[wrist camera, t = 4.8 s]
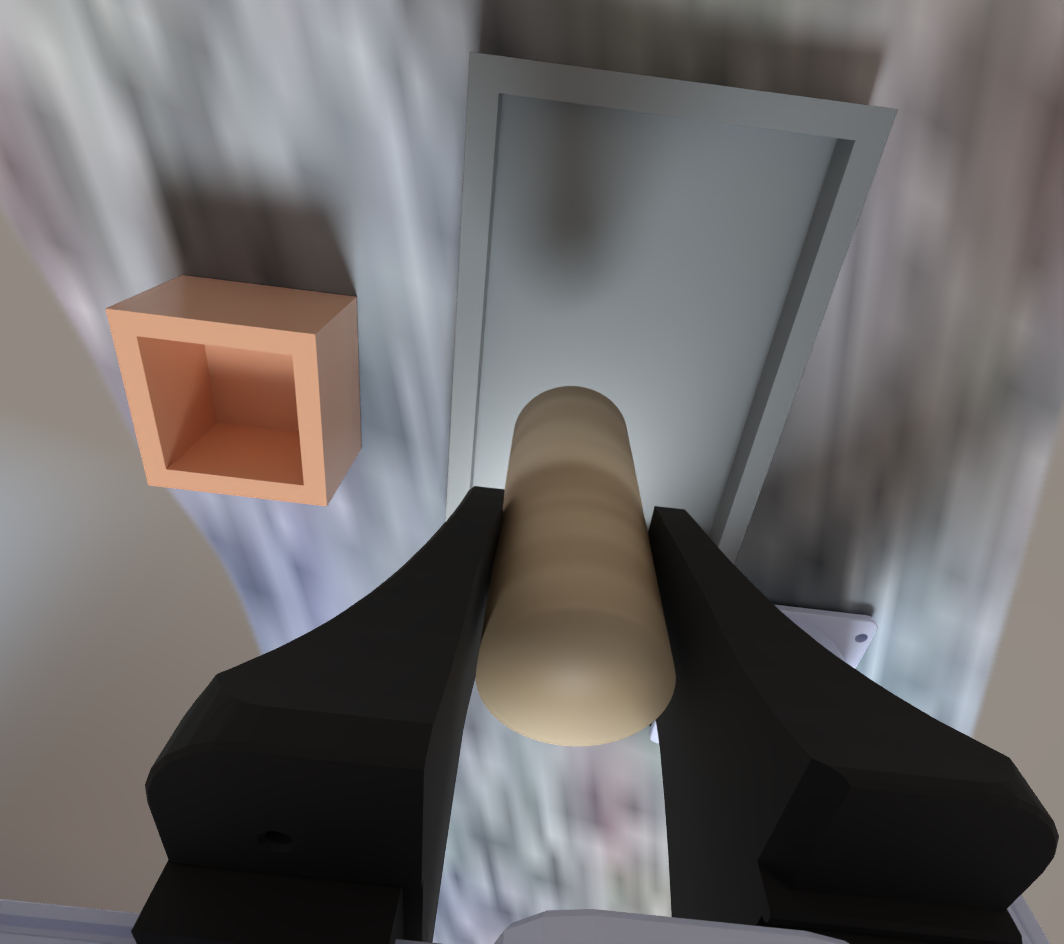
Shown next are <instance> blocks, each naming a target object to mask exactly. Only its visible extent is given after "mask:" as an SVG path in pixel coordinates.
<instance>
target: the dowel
mask: <svg viewBox="0 0 1064 944" xmlns="http://www.w3.org/2000/svg"><path fill="white" fill-rule="evenodd" d="M675 683H676V674H675V667H674V662H673V657H672V652H671V647H670V642H669V637H668V632H667V627H666V622H665V617H664V612H663V607H662V602H661V597H660V592H659V587H658V582H657V577H656V572H655V567H654V562H653V557H652V552H651V547H650V542H649V537H648V531H647V526H646V521H645V516H644V511H643V506H642V501H641V496H640V491H639V486H638V481H637V476H636V471H635V466H634V461H633V456H632V451H631V446H630V441H629V436H628V431H627V426H626V423H625V420H624V417H623V415H622V413H621V412H620V410H619V409H618V407H617V406H616V405H615V404H614V403H613V402H612V401H611V400H610V399H608V398H607V397H606V396H604V395H603V394H601V393H599V392H597V391H595V390H592V389H589V388H585V387H580V386H562V387H557V388H553V389H550V390H547V391H545V392H543V393H541V394H539V395H537V396H536V397H534V398H533V399H532V400H531V401H530V402H528V403H527V405H526V406H525V407H524V408H523V409H522V411H521V412H520V414H519V416H518V418H517V420H516V423H515V426H514V432H513V438H512V445H511V451H510V457H509V464H508V470H507V476H506V483H505V493H504V503H503V513H502V520H501V526H500V533H499V539H498V545H497V549H496V554H495V558H494V563H493V567H492V572H491V578H490V585H489V591H488V597H487V604H486V610H485V616H484V623H483V629H482V635H481V642H480V648H479V655H478V661H477V667H476V684H477V689H478V692H479V695H480V697H481V699H482V701H483V703H484V704H485V706H486V707H487V709H488V710H489V711H490V712H491V714H492V715H493V716H494V717H496V718H497V719H498V720H499V721H500V722H501V723H503V724H504V725H505V726H507V727H508V728H510V729H512V730H513V731H515V732H517V733H519V734H521V735H524V736H526V737H528V738H531V739H534V740H537V741H541V742H545V743H549V744H555V745H562V746H592V745H600V744H605V743H610V742H614V741H617V740H620V739H623V738H626V737H628V736H631V735H633V734H635V733H637V732H639V731H641V730H642V729H644V728H645V727H647V726H648V725H650V724H651V723H652V722H653V721H654V720H656V719H657V718H658V717H659V716H660V715H661V713H662V712H663V711H664V710H665V709H666V707H667V705H668V704H669V702H670V700H671V698H672V695H673V693H674V689H675Z"/></svg>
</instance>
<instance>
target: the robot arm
mask: <svg viewBox="0 0 1064 944" xmlns="http://www.w3.org/2000/svg"><path fill="white" fill-rule="evenodd" d="M504 493H505V489H497V488H488V487H479V486H474V487H473V488H471V489H470V490H468V492H467V494H466V495H465V497H464V498H463V500H462V501H461V503H460V504H459V505H458V507H457V508H456V509H455V511H454V512H453V513H452V514H451V516H450V517H449V518H448V519H447V521H446V522H445V523H444V524H443V525H442V526H441V527H440V529H439V530H438V531H437V532H436V533H435V534H434V535H433V537H432V538H431V539H430V540H429V541H428V542H427V543H426V544H425V545H424V546H423V547H422V548H421V549H420V550H419V551H418V552H417V553H416V554H415V555H414V556H413V557H412V558H411V559H410V560H409V561H408V562H407V563H406V564H405V565H403V566H402V567H401V568H400V569H399V570H398V571H397V572H395V573H394V574H393V575H392V576H391V577H390V578H388V579H387V580H386V581H385V582H383V583H382V584H381V585H380V586H378V587H377V588H376V589H375V590H373V591H372V592H371V593H369V594H368V595H367V596H365V597H364V598H362V599H361V600H359V601H358V602H357V603H355V604H354V605H352V606H351V607H349V608H348V609H347V610H345V611H344V612H342V613H341V614H339V615H337V616H336V617H334V618H333V619H331V620H330V621H328V622H326V623H324V624H323V625H321V626H319V627H317V628H315V629H314V630H312V631H310V632H308V633H306V634H304V635H303V636H301V637H299V638H297V639H295V640H293V641H291V642H289V643H287V644H285V645H283V646H281V647H279V648H277V649H275V650H272V651H270V652H268V653H266V654H263V655H261V656H259V657H256V658H254V659H252V660H249V661H247V662H245V663H243V664H240V665H238V666H236V667H233V668H231V669H229V670H226V671H223V672H221V673H219V674H217V675H216V676H215V677H214V678H213V680H212V681H211V682H210V684H209V685H208V686H207V687H206V689H205V690H204V691H203V692H202V694H201V695H200V696H199V697H198V698H197V699H196V701H195V702H194V703H193V705H192V706H191V707H190V709H189V710H188V712H187V713H186V714H185V716H184V717H183V719H182V720H181V722H180V723H179V725H178V726H177V728H176V730H175V731H174V733H173V735H172V736H171V738H170V739H169V741H168V742H167V744H166V746H165V747H164V749H163V750H162V752H161V753H160V755H159V757H158V758H157V760H156V762H155V763H154V765H153V766H152V768H151V770H150V773H149V775H148V778H147V781H146V784H145V788H146V795H147V801H148V805H149V807H150V810H151V813H152V816H153V818H154V821H155V824H156V826H157V829H158V832H159V835H160V837H161V840H162V843H163V846H164V848H165V851H166V854H167V857H168V859H169V860H168V862H167V864H166V866H165V868H164V870H163V871H162V873H161V875H160V877H159V879H158V881H157V883H156V885H155V887H154V889H153V891H152V892H151V894H150V896H149V898H148V900H147V902H146V904H145V906H144V907H143V910H142V911H141V913H133V912H122V911H114V910H103V909H94V908H84V907H74V906H64V905H55V904H45V903H35V902H24V901H14V900H5V899H0V944H440V943H432V942H433V934H434V927H435V920H436V913H437V906H438V899H439V892H440V885H441V878H442V871H443V864H444V857H445V850H446V843H447V836H448V829H449V822H450V816H451V809H452V802H453V795H454V788H455V782H456V775H457V768H458V762H459V755H460V748H461V742H462V735H463V728H464V724H465V719H466V714H467V709H468V705H469V701H470V697H471V693H472V689H473V685H474V681H475V677H476V667H477V661H478V655H479V648H480V642H481V635H482V629H483V623H484V616H485V610H486V604H487V597H488V591H489V585H490V578H491V572H492V567H493V563H494V558H495V554H496V549H497V545H498V539H499V533H500V526H501V520H502V513H503V503H504ZM648 537H649V542H650V547H651V552H652V557H653V562H654V567H655V572H656V577H657V582H658V587H659V592H660V597H661V602H662V607H663V612H664V617H665V622H666V627H667V632H668V637H669V642H670V647H671V652H672V657H673V662H674V667H675V674H676V683H675V689H674V693H673V695H672V698H671V700H670V702H669V704H668V705H667V707H666V709H665V710H664V711H663V712H662V713H661V715H660V716H659V717H658V718H657V719H656V720H654V721H653V722H652V725H651V728H650V732H649V733H650V739H651V740H652V741H653V742H655V743H658V744H659V745H660V754H661V765H662V776H663V788H664V799H665V813H666V827H667V841H668V855H669V874H670V892H671V911H672V917H664V916H655V915H645V914H635V913H625V912H615V911H606V910H596V909H583V910H550V911H545V912H542V913H539V914H536V915H534V916H531V917H528V918H525V919H522V920H520V921H517V922H514V923H512V924H511V925H510V926H509V927H508V928H507V929H505V930H504V931H503V933H502V934H501V935H500V937H499V938H498V939H497V941H496V942H495V943H494V944H1050V942H1049V940H1048V939H1047V937H1046V936H1045V933H1044V932H1043V930H1042V928H1041V927H1040V925H1039V923H1038V922H1037V920H1036V918H1035V917H1034V915H1033V913H1032V911H1031V910H1030V908H1029V906H1028V905H1027V903H1026V902H1025V900H1024V898H1023V896H1022V895H1021V894H1022V893H1023V892H1024V891H1025V890H1026V889H1027V888H1028V887H1029V886H1030V885H1031V884H1032V883H1033V882H1034V881H1035V880H1036V879H1037V878H1038V877H1039V876H1040V875H1041V874H1042V873H1043V872H1044V870H1045V869H1046V867H1047V866H1048V865H1049V863H1050V862H1051V861H1052V859H1053V858H1054V855H1055V852H1056V848H1057V843H1058V838H1059V835H1058V832H1057V829H1056V826H1055V823H1054V821H1053V819H1052V818H1051V817H1050V815H1049V814H1048V812H1047V811H1046V809H1045V808H1044V806H1043V805H1042V804H1041V802H1040V801H1039V799H1038V798H1037V796H1036V795H1035V793H1034V792H1033V790H1032V789H1031V788H1030V786H1029V785H1028V783H1027V782H1026V780H1025V779H1024V778H1023V776H1022V775H1021V773H1020V772H1019V771H1018V769H1017V767H1016V766H1015V765H1014V763H1013V762H1012V761H1011V759H1010V758H1009V757H1007V756H1005V755H1003V754H1001V753H999V752H997V751H996V750H994V749H992V748H989V747H988V746H986V745H984V744H982V743H980V742H978V741H976V740H974V739H973V738H971V737H969V736H967V735H965V734H963V733H961V732H959V731H957V730H955V729H953V728H951V727H949V726H948V725H946V724H944V723H942V722H940V721H938V720H936V719H935V718H933V717H931V716H929V715H928V714H926V713H924V712H922V711H921V710H919V709H917V708H916V707H914V706H912V705H911V704H909V703H907V702H906V701H904V700H902V699H901V698H899V697H897V696H896V695H894V694H892V693H891V692H889V691H888V690H886V689H884V688H883V687H881V686H880V685H878V684H877V683H875V682H874V681H872V680H870V679H869V678H867V677H866V676H865V675H863V674H862V673H860V672H859V671H857V670H856V667H857V665H858V664H859V662H860V660H861V658H862V656H863V654H864V653H865V651H866V649H867V647H868V645H869V644H870V642H871V640H872V638H873V636H874V634H875V633H876V631H877V628H878V626H877V624H876V622H875V620H874V619H873V618H872V617H871V616H867V615H859V614H850V613H842V612H833V611H825V610H816V609H807V608H799V607H790V606H782V605H774V604H773V603H772V602H771V601H770V600H769V599H767V598H766V597H765V596H764V595H763V594H762V593H761V592H760V591H759V590H758V589H757V588H756V587H755V586H754V585H753V584H752V583H751V582H750V581H749V580H748V579H747V578H746V577H745V576H744V575H743V574H742V573H741V572H740V571H739V570H738V569H737V567H736V566H735V565H734V564H733V563H732V562H731V561H730V560H729V559H728V558H727V557H726V555H725V554H724V553H723V552H722V551H721V550H720V549H719V548H718V547H717V545H716V544H715V543H714V542H713V541H712V540H711V538H710V537H709V536H708V535H707V534H706V533H705V532H704V530H703V529H702V528H701V527H700V526H699V525H698V523H697V522H696V521H695V520H694V519H693V518H692V517H691V516H690V514H689V513H688V512H687V511H686V510H685V509H677V508H668V507H659V506H654V510H653V514H652V518H651V522H650V526H649V531H648ZM859 634H861V635H859ZM857 635H859V636H857Z"/></svg>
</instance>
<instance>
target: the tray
mask: <svg viewBox="0 0 1064 944" xmlns="http://www.w3.org/2000/svg"><path fill="white" fill-rule="evenodd" d="M897 111H898V109H893V108H885V107H878V106H870V105H863V104H855V103H848V102H840V101H833V100H826V99H818V98H811V97H803V96H796V95H788V94H781V93H773V92H766V91H758V90H751V89H743V88H736V87H728V86H721V85H713V84H706V83H698V82H691V81H683V80H676V79H669V78H661V77H654V76H646V75H639V74H631V73H624V72H616V71H609V70H601V69H594V68H586V67H579V66H571V65H564V64H556V63H549V62H541V61H534V60H527V59H519V58H512V57H504V56H497V55H489V54H482V53H474V52H470V58H469V77H468V97H467V116H466V136H465V155H464V175H463V194H462V214H461V233H460V253H459V272H458V292H457V311H456V331H455V350H454V370H453V389H452V409H451V428H450V448H449V467H448V487H447V506H446V521H447V519H448V518H449V517H450V516H451V514H452V513H453V512H454V511H455V509H456V508H457V507H458V505H459V504H460V503H461V501H462V500H463V498H464V497H465V495H466V494H467V492H468V490H470V489H471V488H473V487H474V486H479V487H488V488H497V489H505V483H506V476H507V470H508V464H509V457H510V451H511V445H512V438H513V432H514V426H515V423H516V420H517V418H518V416H519V414H520V412H521V411H522V409H523V408H524V407H525V406H526V405H527V403H528V402H530V401H531V400H532V399H533V398H534V397H536V396H537V395H539V394H541V393H543V392H545V391H547V390H550V389H553V388H557V387H562V386H580V387H585V388H589V389H592V390H595V391H597V392H599V393H601V394H603V395H604V396H606V397H607V398H608V399H610V400H611V401H612V402H613V403H614V404H615V405H616V406H617V407H618V409H619V410H620V412H621V413H622V415H623V417H624V420H625V423H626V426H627V431H628V436H629V441H630V446H631V451H632V456H633V461H634V466H635V471H636V476H637V481H638V486H639V491H640V496H641V501H642V506H643V511H644V516H645V521H646V526H647V531H649V526H650V522H651V518H652V514H653V510H654V506H659V507H668V508H677V509H685V510H686V511H687V512H688V513H689V514H690V516H691V517H692V518H693V519H694V520H695V521H696V522H697V523H698V525H699V526H700V527H701V528H702V529H703V530H704V532H705V533H706V534H707V535H708V536H709V537H710V538H711V540H712V541H713V542H714V543H715V544H716V545H717V547H718V548H719V549H720V550H721V551H722V552H723V553H724V554H725V555H726V557H727V558H728V559H729V560H730V561H731V562H732V563H733V564H735V561H736V558H737V555H738V552H739V550H740V547H741V544H742V541H743V539H744V536H745V533H746V530H747V527H748V525H749V522H750V519H751V516H752V514H753V511H754V508H755V505H756V502H757V500H758V497H759V494H760V491H761V489H762V486H763V483H764V480H765V477H766V475H767V472H768V469H769V466H770V464H771V461H772V458H773V455H774V452H775V450H776V447H777V444H778V441H779V439H780V436H781V433H782V430H783V427H784V425H785V422H786V419H787V416H788V414H789V411H790V408H791V405H792V402H793V400H794V397H795V394H796V391H797V389H798V386H799V383H800V380H801V377H802V375H803V372H804V369H805V366H806V364H807V361H808V358H809V355H810V352H811V350H812V347H813V344H814V341H815V339H816V336H817V333H818V330H819V327H820V325H821V322H822V319H823V316H824V314H825V311H826V308H827V305H828V302H829V300H830V297H831V294H832V291H833V289H834V286H835V283H836V280H837V277H838V275H839V272H840V269H841V266H842V264H843V261H844V258H845V255H846V253H847V250H848V247H849V244H850V241H851V239H852V236H853V233H854V230H855V228H856V225H857V222H858V219H859V216H860V214H861V211H862V208H863V205H864V203H865V200H866V197H867V194H868V191H869V189H870V186H871V183H872V180H873V178H874V175H875V172H876V169H877V166H878V164H879V161H880V158H881V155H882V153H883V150H884V147H885V144H886V141H887V139H888V136H889V133H890V130H891V128H892V125H893V122H894V119H895V116H896V114H897Z"/></svg>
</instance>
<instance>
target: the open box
mask: <svg viewBox="0 0 1064 944" xmlns="http://www.w3.org/2000/svg"><path fill="white" fill-rule="evenodd" d="M106 313H107V317H108V321H109V325H110V329H111V333H112V337H113V341H114V346H115V350H116V354H117V358H118V362H119V366H120V370H121V375H122V379H123V383H124V387H125V391H126V395H127V399H128V403H129V408H130V412H131V416H132V420H133V424H134V428H135V432H136V436H137V441H138V445H139V449H140V453H141V457H142V461H143V465H144V469H145V473H146V477H147V482H148V485H150V486H159V487H167V488H176V489H184V490H193V491H201V492H210V493H218V494H227V495H235V496H244V497H252V498H261V499H269V500H278V501H286V502H295V503H303V504H312V505H320V506H327V505H328V504H329V502H330V500H331V499H332V497H333V495H334V494H335V492H336V490H337V489H338V487H339V485H340V484H341V482H342V480H343V478H344V477H345V475H346V473H347V472H348V470H349V468H350V467H351V465H352V463H353V462H354V460H355V458H356V457H357V455H358V453H359V452H360V450H361V418H360V387H359V356H358V325H357V297H355V296H347V295H339V294H331V293H323V292H315V291H307V290H299V289H291V288H283V287H275V286H267V285H259V284H251V283H243V282H235V281H227V280H219V279H211V278H203V277H195V276H187V275H181V276H179V277H177V278H174V279H172V280H170V281H167V282H165V283H163V284H161V285H158V286H156V287H154V288H151V289H149V290H147V291H145V292H142V293H140V294H138V295H135V296H133V297H131V298H129V299H126V300H124V301H122V302H119V303H117V304H115V305H113V306H110V307H108V308H106Z"/></svg>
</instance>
